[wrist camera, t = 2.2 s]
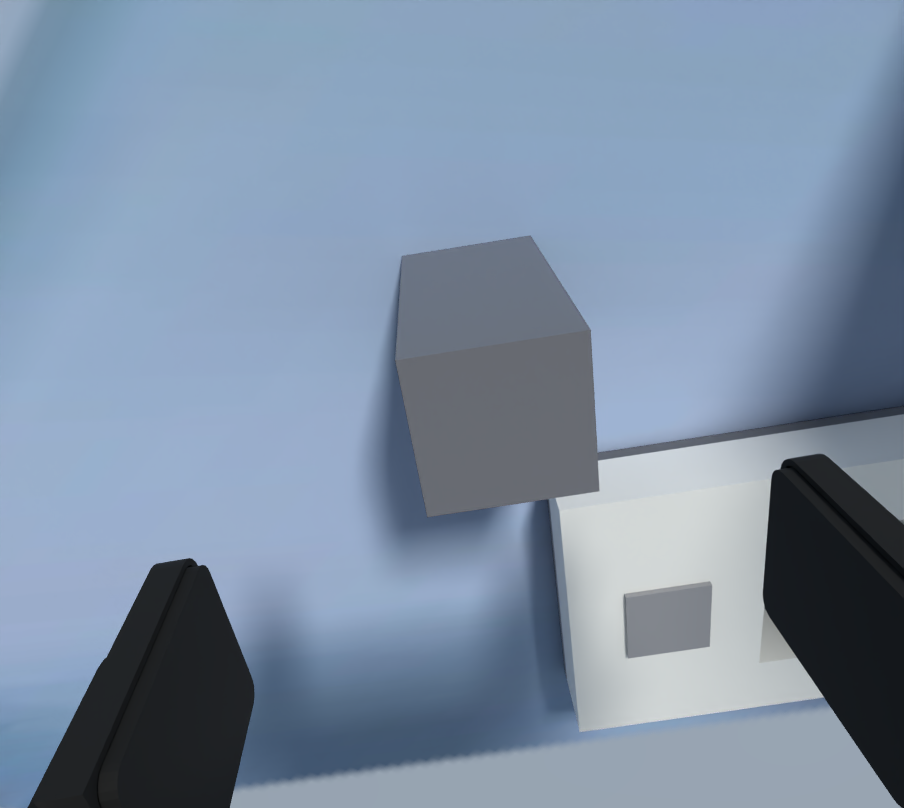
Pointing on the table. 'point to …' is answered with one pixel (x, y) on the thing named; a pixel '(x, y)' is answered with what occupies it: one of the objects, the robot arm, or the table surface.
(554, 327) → the block
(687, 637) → the switch panel
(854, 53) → the table surface
